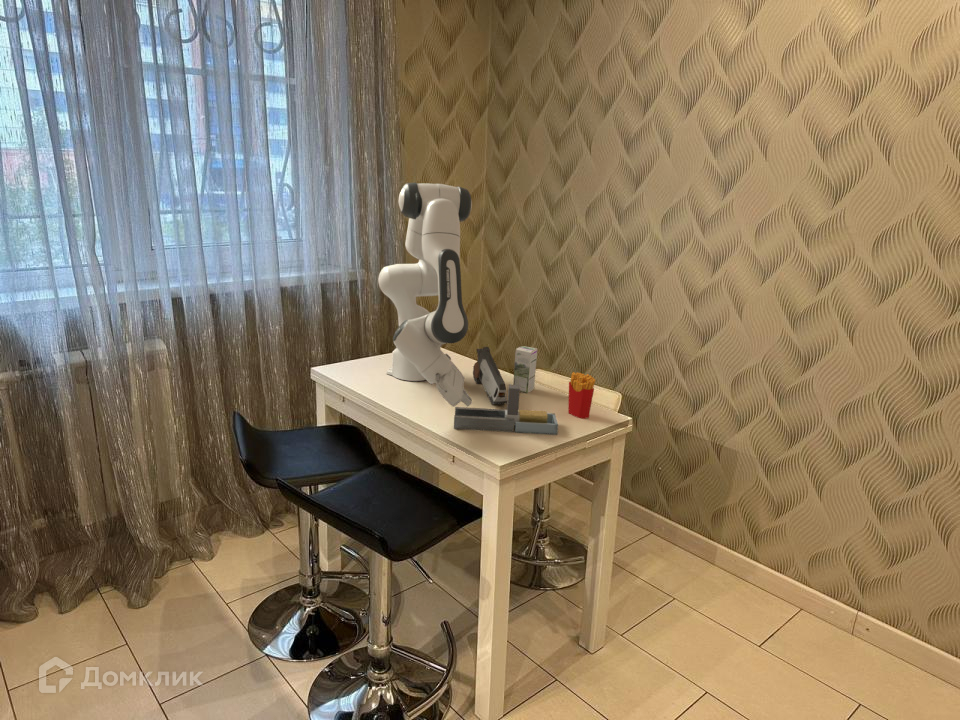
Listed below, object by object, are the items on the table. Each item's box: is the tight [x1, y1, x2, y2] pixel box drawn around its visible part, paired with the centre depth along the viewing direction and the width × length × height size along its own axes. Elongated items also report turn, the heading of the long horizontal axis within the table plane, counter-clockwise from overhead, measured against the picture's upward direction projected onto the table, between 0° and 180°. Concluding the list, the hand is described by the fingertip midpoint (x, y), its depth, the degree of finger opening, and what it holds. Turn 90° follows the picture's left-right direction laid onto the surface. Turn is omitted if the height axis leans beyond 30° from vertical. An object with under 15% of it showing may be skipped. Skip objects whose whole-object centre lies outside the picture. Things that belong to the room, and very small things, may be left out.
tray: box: [514, 412, 559, 436], centre depth 200 cm, size 9×12×3 cm
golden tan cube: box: [518, 409, 534, 423], centre depth 199 cm, size 4×4×4 cm
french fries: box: [567, 371, 597, 420], centre depth 210 cm, size 9×4×13 cm, turn 38°
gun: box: [472, 346, 508, 405], centre depth 226 cm, size 5×27×15 cm, turn 16°
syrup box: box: [512, 345, 538, 394], centre depth 230 cm, size 6×6×14 cm
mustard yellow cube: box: [533, 410, 548, 423], centre depth 199 cm, size 4×4×4 cm
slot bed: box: [453, 406, 515, 433], centre depth 199 cm, size 8×17×4 cm, turn 90°
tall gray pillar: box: [504, 383, 521, 425], centre depth 198 cm, size 4×4×11 cm
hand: (470, 403), depth 198 cm, fingers closed
